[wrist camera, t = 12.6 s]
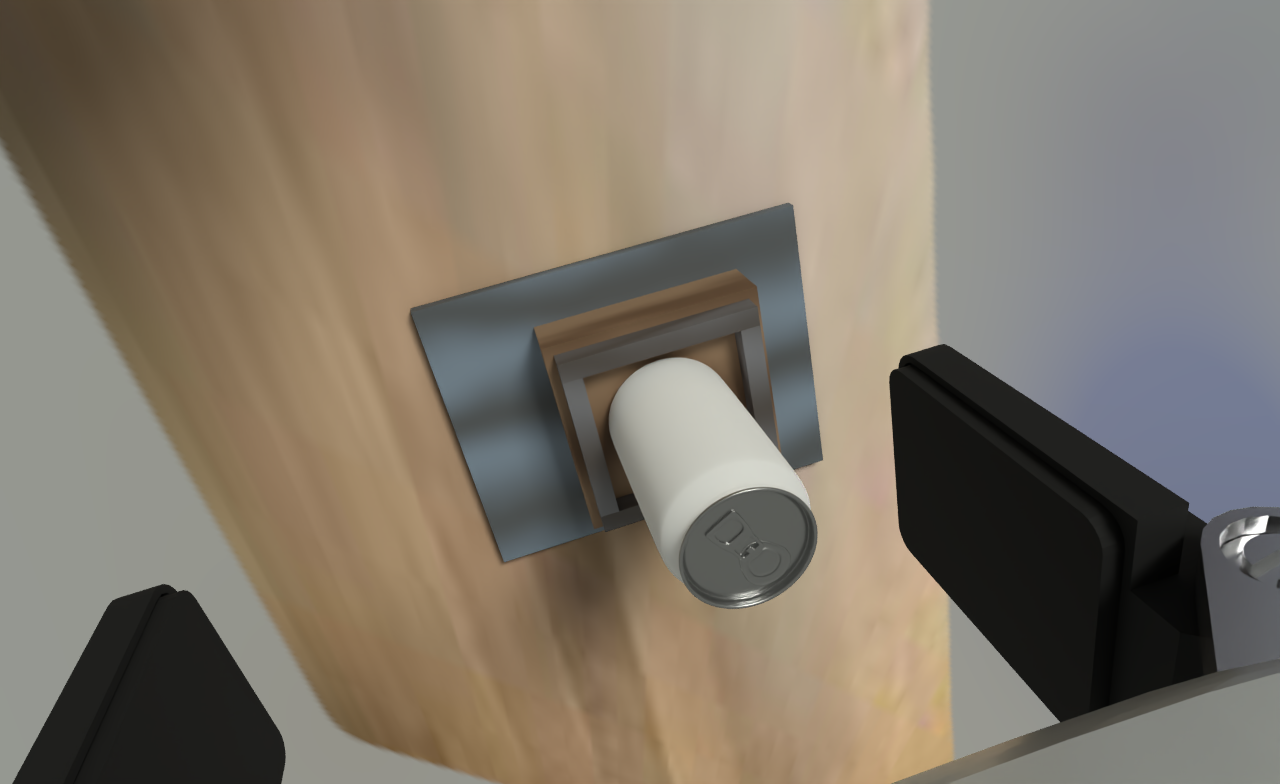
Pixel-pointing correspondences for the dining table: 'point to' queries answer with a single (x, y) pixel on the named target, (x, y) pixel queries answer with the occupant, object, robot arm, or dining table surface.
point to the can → (711, 485)
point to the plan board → (616, 366)
